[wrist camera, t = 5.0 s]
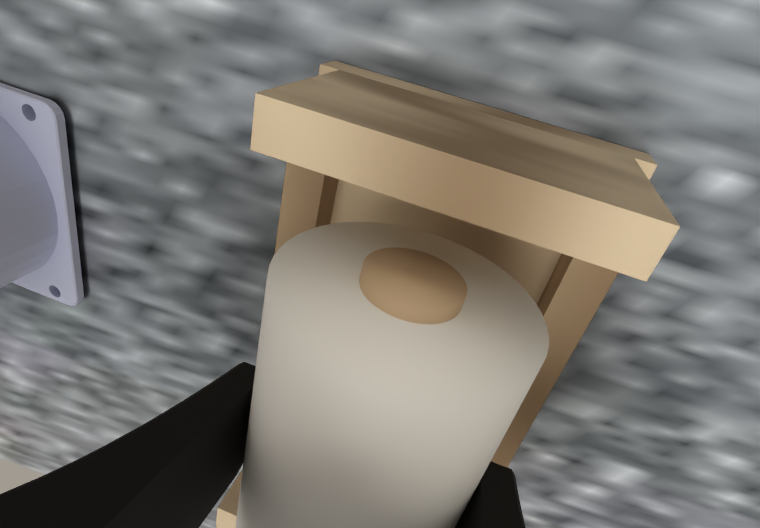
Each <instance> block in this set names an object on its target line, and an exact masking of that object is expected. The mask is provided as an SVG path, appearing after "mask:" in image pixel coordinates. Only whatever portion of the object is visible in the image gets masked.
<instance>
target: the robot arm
mask: <svg viewBox="0 0 760 528" xmlns="http://www.w3.org/2000/svg"><path fill="white" fill-rule="evenodd" d="M33 109H34V110H33ZM34 111H35V112H34ZM11 282H12V283H14V284H17V285H19V286H21V287H24V288H26V289H29V290H31V291H34V292H36V293H39V294H41V295H44V296H46V297H49V298H51V299H54V300H56V301H58V302H61V303H63V304H66V305H69V306H75V305H77V304H78V303H80V302H82V300H83V299H84V292H83V282H82V273H81V264H80V255H79V245H78V236H77V227H76V218H75V208H74V199H73V190H72V181H71V171H70V162H69V153H68V144H67V134H66V125H65V118H64V114H63V112H62V110H61V108H60V107H59V106H58V105H57V104H56V103H55V102H53V101H52V100H50V99H47V98H44V97H41V96H38V95H35V94H32V93H29V92H26V91H23V90H20V89H17V88H15V87H12V86H9V85H6V84H3V83H0V288H1V287H3V286H5V285H7V284H9V283H11ZM255 368H256V366H253V365H251V364H248V363H246V362H243V363H240V364H238V365H237V366H235V367H234V368H233V369H231V370H230V371H228V372H227V373H225V374H224V375H222V376H221V377H219V378H218V379H216V380H215V381H213V382H212V383H210V384H209V385H207V386H206V387H204V388H202V389H201V390H199V391H198V392H196V393H195V394H193V395H191V396H190V397H188V398H187V399H185V400H184V401H182V402H180V403H179V404H177V405H175V406H174V407H172V408H170V409H169V410H167V411H165V412H164V413H162V414H160V415H159V416H157V417H156V418H154V419H152V420H150V421H149V422H147V423H145V424H144V425H142V426H140V427H138V428H136V429H134V430H133V431H131V432H129V433H127V434H125V435H123V436H122V437H120V438H118V439H116V440H114V441H113V442H111V443H109V444H107V445H105V446H103V447H101V448H99V449H98V450H96V451H94V452H92V453H90V454H88V455H86V456H84V457H82V458H80V459H78V460H76V461H74V462H72V463H69V464H67V465H65V466H63V467H61V468H59V469H57V470H55V471H52V472H50V473H48V474H46V475H44V476H42V477H39V478H38V479H35V480H32V481H30V482H28V483H25V484H23V485H21V486H18V487H16V488H14V489H11V490H9V491H7V492H4V493H2V494H0V528H199V526H200V525H201V524H202V522H203V521H204V519H205V518H206V517H207V515H208V514H209V513H210V511H211V510H212V508H213V507H214V506H215V504H216V503H217V501H218V500H219V499H220V497H221V496H222V494H223V493H224V492H225V490H226V489H227V487H228V486H229V485H230V483H231V482H232V480H233V479H234V478H235V476H236V475H237V473H238V471H239V469H240V468H241V466H242V464H243V463H244V455H245V447H246V439H247V431H248V423H249V416H250V408H251V400H252V392H253V384H254V376H255ZM455 528H525V524H524V519H523V515H522V510H521V506H520V501H519V496H518V490H517V485H516V479H515V475H514V473H513V471H512V469H509V468H507V467H504V466H502V465H499V464H497V463H494V462H492V461H491V462H490V463H489V465H488V467H487V469H486V471H485V473H484V475H483V476H482V478H481V480H480V482H479V484H478V486H477V488H476V489H475V491H474V493H473V495H472V497H471V499H470V501H469V502H468V504H467V506H466V508H465V510H464V512H463V514H462V516H461V517H460V519H459V521H458V523H457V525H456V527H455Z"/></svg>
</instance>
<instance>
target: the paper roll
mask: <svg viewBox="0 0 760 528" xmlns="http://www.w3.org/2000/svg"><path fill="white" fill-rule="evenodd" d="M548 348H549V333H548V329H547V325H546V322H545V320H544V317H543V315H542V313H541V311H540V309H539V308H538V306H537V304H536V303H535V301H534V300H533V299H532V297H531V296H530V295H529V294H528V292H527V291H526V290H525V289H524V288H523V287H522V286H521V285H520V284H519V283H518V282H517V281H516V280H515V279H514V278H512V277H511V276H510V275H509V274H508V273H507V272H505V271H504V270H503V269H501V268H500V267H499V266H497V265H496V264H494V263H493V262H491V261H490V260H488V259H486V258H485V257H483V256H481V255H480V254H478V253H476V252H474V251H472V250H470V249H468V248H466V247H464V246H462V245H460V244H458V243H455V242H453V241H450V240H448V239H446V238H443V237H440V236H437V235H434V234H431V233H428V232H424V231H421V230H417V229H413V228H409V227H404V226H399V225H393V224H386V223H376V222H343V223H334V224H328V225H323V226H319V227H316V228H312V229H309V230H307V231H304V232H302V233H300V234H298V235H296V236H294V237H293V238H291V239H290V240H288V241H287V242H286V243H285V244H283V245H282V246H281V247H280V248H279V249H278V251H277V252H276V253H275V255H274V256H273V258H272V260H271V263H270V265H269V269H268V274H267V281H266V289H265V297H264V305H263V313H262V321H261V329H260V337H259V345H258V352H257V360H256V368H255V376H254V384H253V392H252V400H251V408H250V416H249V423H248V431H247V439H246V447H245V455H244V463H243V471H242V479H241V487H240V494H239V502H238V510H237V518H236V526H235V528H455V527H456V525H457V523H458V521H459V519H460V517H461V516H462V514H463V512H464V510H465V508H466V506H467V504H468V502H469V501H470V499H471V497H472V495H473V493H474V491H475V489H476V488H477V486H478V484H479V482H480V480H481V478H482V476H483V475H484V473H485V471H486V469H487V467H488V465H489V463H490V462H491V460H492V458H493V456H494V454H495V452H496V450H497V448H498V447H499V445H500V443H501V441H502V439H503V437H504V435H505V434H506V432H507V430H508V428H509V426H510V424H511V422H512V421H513V419H514V417H515V415H516V413H517V411H518V409H519V408H520V406H521V404H522V402H523V400H524V398H525V396H526V395H527V393H528V391H529V389H530V387H531V385H532V383H533V381H534V380H535V378H536V376H537V374H538V372H539V370H540V368H541V367H542V365H543V363H544V361H545V359H546V357H547V353H548Z"/></svg>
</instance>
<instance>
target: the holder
mask: <svg viewBox="0 0 760 528" xmlns="http://www.w3.org/2000/svg"><path fill="white" fill-rule="evenodd" d="M250 150H253V151H256V152H259V153H262V154H265V155H268V156H271V157H274V158H277V159H280V160H283V161H286V162H287V163H286V171H285V178H284V186H283V193H282V201H281V208H280V216H279V223H278V231H277V238H276V246H275V253H276V252H277V251H278V249H279V248H280V247H281V246H282V245H283V244H285V243H286V242H287V241H288V240H290V239H291V238H293V237H294V236H296V235H298V234H300V233H302V232H304V231H307V230H309V229H312V228H316V227H319V226H323V225H328V224H334V223H343V222H376V223H386V224H393V225H399V226H404V227H409V228H413V229H417V230H421V231H424V232H428V233H431V234H434V235H437V236H440V237H443V238H446V239H448V240H450V241H453V242H455V243H458V244H460V245H462V246H464V247H466V248H468V249H470V250H472V251H474V252H476V253H478V254H480V255H481V256H483V257H485V258H486V259H488V260H490V261H491V262H493V263H494V264H496V265H497V266H499V267H500V268H501V269H503V270H504V271H505V272H507V273H508V274H509V275H510V276H511V277H512V278H514V279H515V280H516V281H517V282H518V283H519V284H520V285H521V286H522V287H523V288H524V289H525V290H526V291H527V292H528V294H529V295H530V296H531V297H532V299H533V300H534V301H535V303H536V304H537V306H538V308H539V309H540V311H541V313H542V315H543V317H544V320H545V322H546V325H547V329H548V333H549V348H548V353H547V357H546V359H545V361H544V363H543V365H542V367H541V368H540V370H539V372H538V374H537V376H536V378H535V380H534V381H533V383H532V385H531V387H530V389H529V391H528V393H527V395H526V396H525V398H524V400H523V402H522V404H521V406H520V408H519V409H518V411H517V413H516V415H515V417H514V419H513V421H512V422H511V424H510V426H509V428H508V430H507V432H506V434H505V435H504V437H503V439H502V441H501V443H500V445H499V447H498V448H497V450H496V452H495V454H494V456H493V458H492V460H491V461H492V462H494V463H497V464H499V465H502V466H504V467H508V465H509V463H510V462H511V460H512V458H513V456H514V455H515V453H516V451H517V449H518V447H519V446H520V444H521V442H522V440H523V439H524V437H525V435H526V433H527V432H528V430H529V428H530V426H531V425H532V423H533V421H534V419H535V418H536V416H537V414H538V412H539V411H540V409H541V407H542V405H543V404H544V402H545V400H546V398H547V397H548V395H549V393H550V391H551V390H552V388H553V386H554V384H555V383H556V381H557V379H558V377H559V376H560V374H561V372H562V370H563V369H564V367H565V365H566V363H567V362H568V360H569V358H570V356H571V355H572V353H573V351H574V349H575V348H576V346H577V344H578V342H579V341H580V339H581V337H582V335H583V334H584V332H585V330H586V328H587V327H588V325H589V323H590V321H591V320H592V318H593V316H594V314H595V313H596V311H597V309H598V307H599V306H600V304H601V302H602V300H603V299H604V297H605V295H606V293H607V292H608V290H609V288H610V286H611V285H612V283H613V281H614V279H615V278H616V276H617V274H618V272H619V273H622V274H625V275H628V276H631V277H634V278H637V279H640V280H643V281H647V280H648V278H649V277H650V275H651V273H652V272H653V270H654V268H655V267H656V265H657V264H658V262H659V260H660V259H661V257H662V255H663V254H664V252H665V250H666V249H667V247H668V246H669V244H670V242H671V241H672V239H673V237H674V236H675V234H676V233H677V231H678V229H679V228H680V226H679V224H678V223H677V221H676V220H675V218H674V217H673V215H672V214H671V212H670V211H669V209H668V208H667V206H666V205H665V203H664V202H663V200H662V199H661V197H660V196H659V194H658V193H657V191H656V190H655V188H654V187H653V185H652V184H651V182H650V181H649V180H650V178H651V176H652V174H653V173H654V171H655V169H656V167H657V164H656V162H655V161H654V160H653V159H652V157H651V156H650V155H649V154H648V153H644V152H641V151H638V150H634V149H631V148H627V147H624V146H621V145H617V144H614V143H611V142H607V141H604V140H601V139H597V138H594V137H590V136H587V135H584V134H580V133H577V132H574V131H570V130H567V129H564V128H560V127H557V126H553V125H550V124H547V123H543V122H540V121H537V120H533V119H530V118H526V117H523V116H520V115H516V114H513V113H510V112H506V111H503V110H500V109H496V108H493V107H489V106H486V105H483V104H479V103H476V102H473V101H469V100H466V99H463V98H459V97H456V96H452V95H449V94H446V93H442V92H439V91H436V90H432V89H429V88H426V87H422V86H419V85H415V84H412V83H409V82H405V81H402V80H399V79H395V78H392V77H388V76H385V75H382V74H378V73H375V72H372V71H368V70H365V69H362V68H358V67H355V66H351V65H348V64H345V63H341V62H338V61H331V62H327V63H323V64H320V68H319V75H318V76H315V77H311V78H308V79H304V80H301V81H297V82H293V83H290V84H286V85H282V86H279V87H275V88H272V89H268V90H264V91H261V92H257V93H255V104H254V115H253V126H252V137H251V148H250ZM275 253H274V255H275ZM242 471H243V470H242ZM242 471H241V473H240V474H239V476H238V477H237V479H236V480H235V482H234V483H233V485H232V486H231V488H230V490H229V491H228V493H227V494H226V496H225V497H224V499H223V500H222V502H221V503H220V505H219V506H218V510H217V521H216V527H217V528H235V526H236V518H237V510H238V502H239V494H240V487H241V479H242Z"/></svg>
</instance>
